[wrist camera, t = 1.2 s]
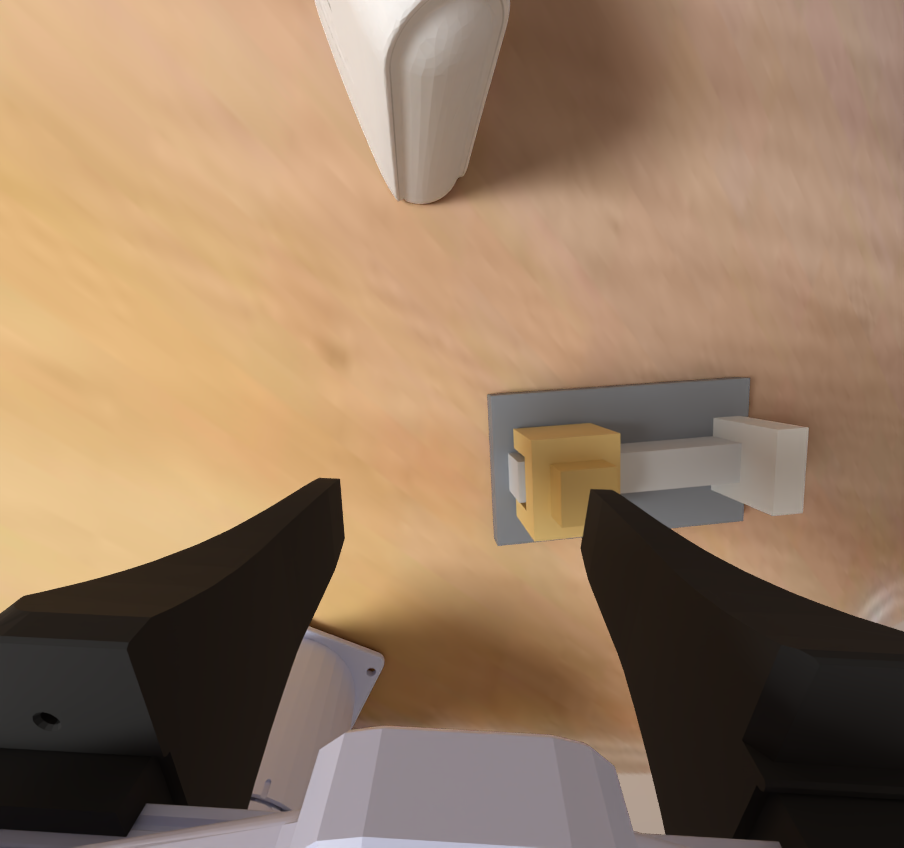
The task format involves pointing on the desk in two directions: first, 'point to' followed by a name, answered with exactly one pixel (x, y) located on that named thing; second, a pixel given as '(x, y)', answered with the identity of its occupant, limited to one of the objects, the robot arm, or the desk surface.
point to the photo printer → (417, 82)
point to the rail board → (631, 425)
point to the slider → (564, 475)
